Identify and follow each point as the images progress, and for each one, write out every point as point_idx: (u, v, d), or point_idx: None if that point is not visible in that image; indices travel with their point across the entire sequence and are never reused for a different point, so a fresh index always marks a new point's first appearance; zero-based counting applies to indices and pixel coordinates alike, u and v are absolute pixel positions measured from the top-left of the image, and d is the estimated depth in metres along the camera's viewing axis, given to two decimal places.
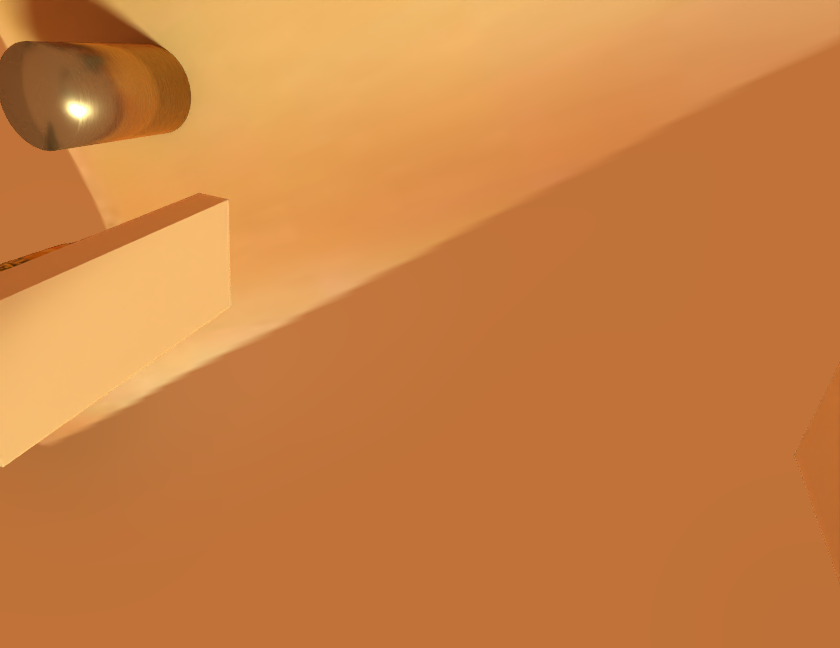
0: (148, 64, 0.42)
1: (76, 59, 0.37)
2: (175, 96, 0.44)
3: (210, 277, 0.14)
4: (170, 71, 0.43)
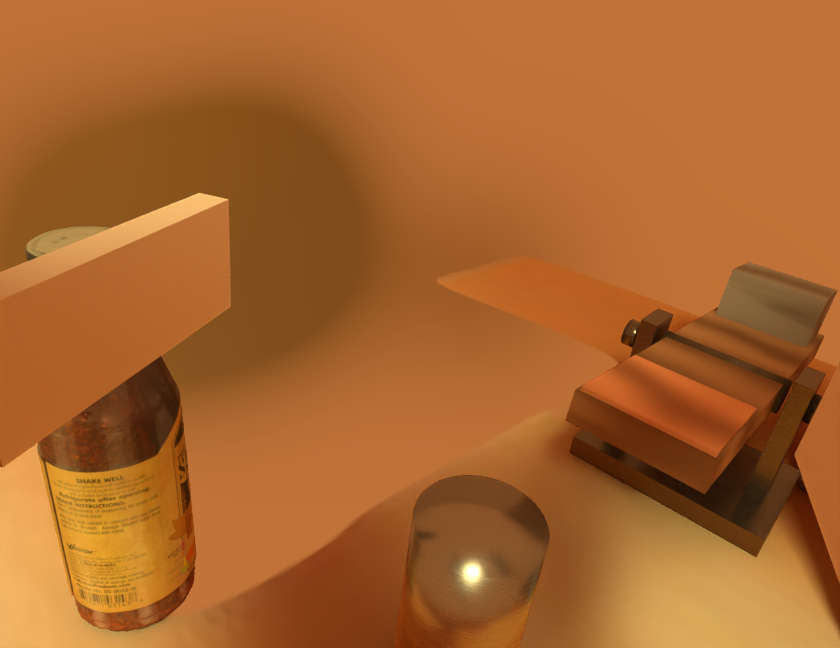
0: None
1: (540, 570, 0.28)
2: None
3: (210, 277, 0.14)
4: None
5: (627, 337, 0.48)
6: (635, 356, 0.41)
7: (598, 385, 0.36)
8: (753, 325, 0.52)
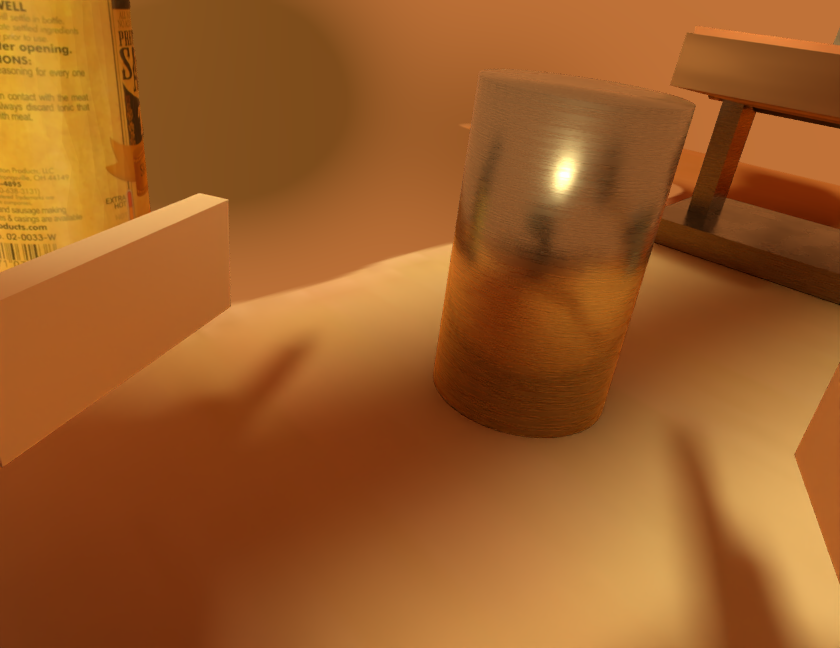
0: (623, 336, 0.20)
1: (680, 154, 0.18)
2: (564, 394, 0.19)
3: (210, 277, 0.14)
4: (601, 389, 0.20)
5: None
6: None
7: None
8: None
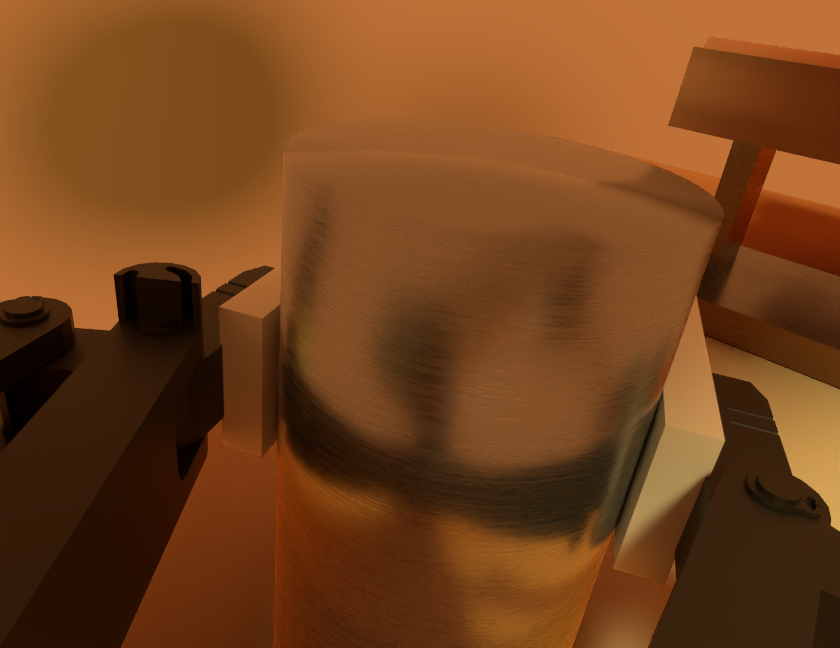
0: (585, 607, 0.11)
1: (692, 305, 0.09)
2: None
3: None
4: None
5: None
6: None
7: None
8: None
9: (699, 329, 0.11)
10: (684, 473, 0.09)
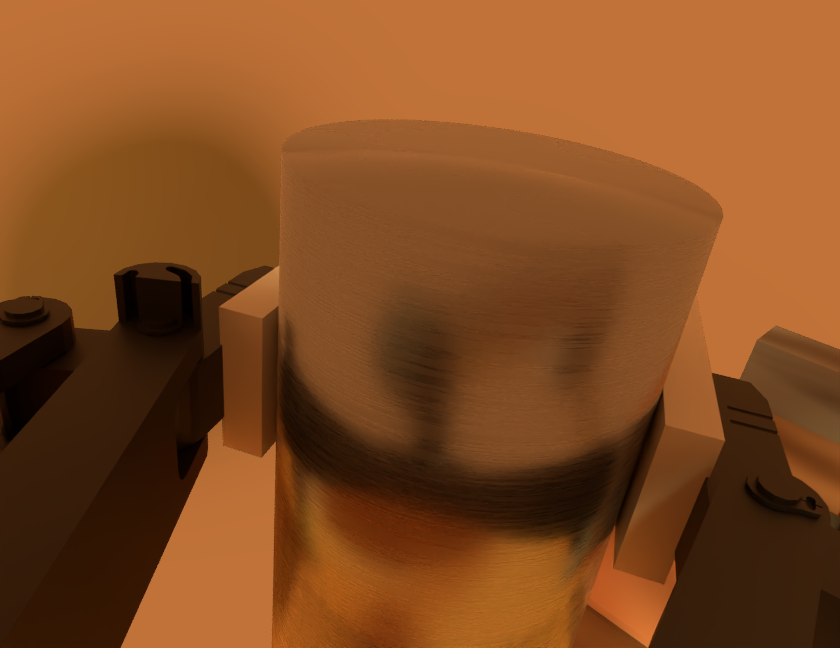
0: (584, 608, 0.11)
1: (691, 306, 0.09)
2: None
3: None
4: None
5: None
6: None
7: None
8: (783, 414, 0.40)
9: (699, 329, 0.11)
10: (684, 473, 0.09)
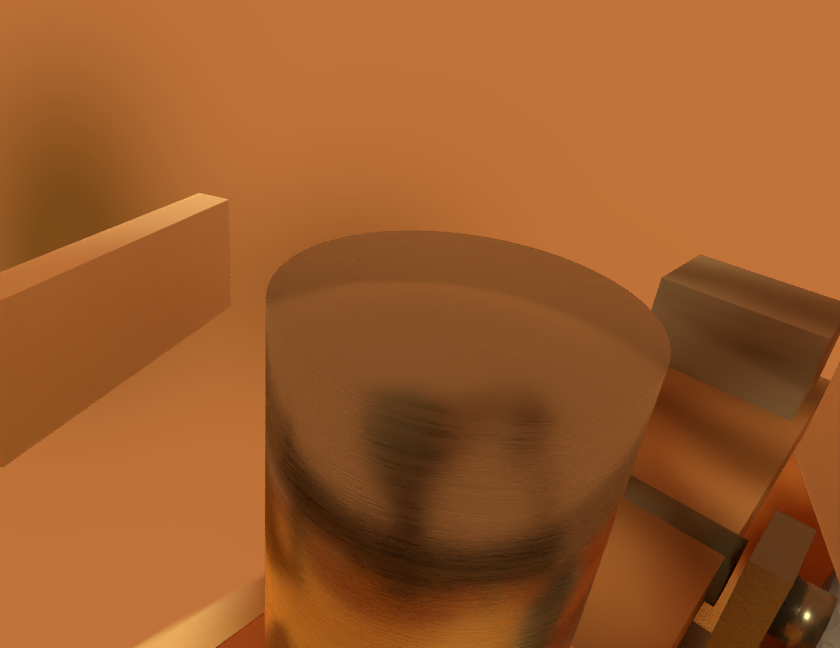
0: None
1: (643, 435, 0.09)
2: None
3: (210, 277, 0.14)
4: None
5: None
6: None
7: None
8: (700, 375, 0.29)
9: None
10: None
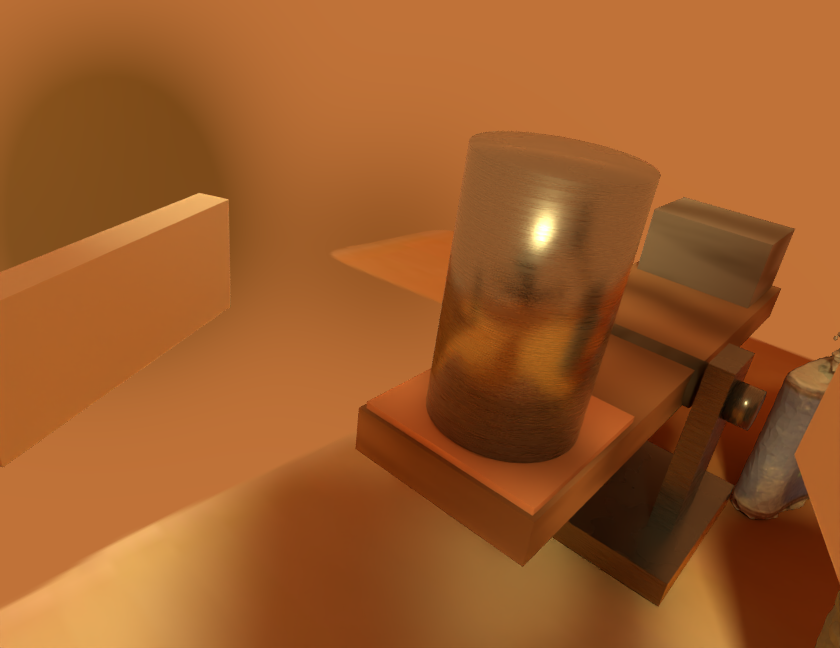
0: (595, 373, 0.22)
1: None
2: (541, 425, 0.22)
3: (210, 277, 0.14)
4: (575, 420, 0.23)
5: None
6: None
7: (395, 398, 0.25)
8: (683, 281, 0.40)
9: None
10: None
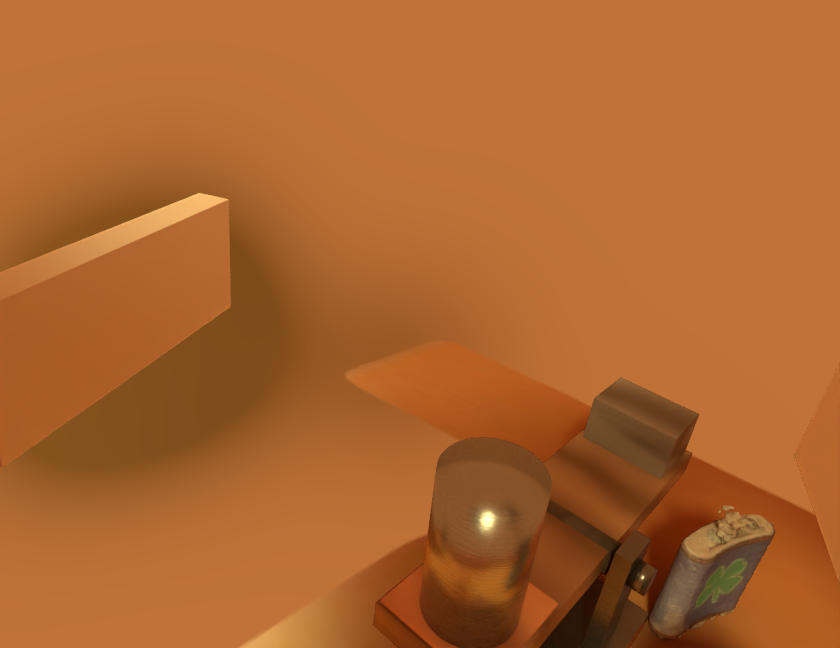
0: (522, 595, 0.35)
1: (544, 515, 0.33)
2: (487, 630, 0.35)
3: (210, 277, 0.14)
4: (511, 622, 0.35)
5: None
6: None
7: (399, 595, 0.38)
8: (615, 452, 0.53)
9: None
10: None
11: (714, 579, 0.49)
